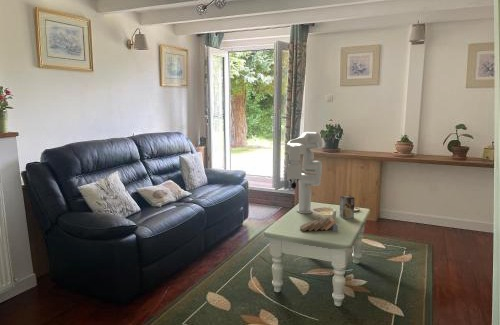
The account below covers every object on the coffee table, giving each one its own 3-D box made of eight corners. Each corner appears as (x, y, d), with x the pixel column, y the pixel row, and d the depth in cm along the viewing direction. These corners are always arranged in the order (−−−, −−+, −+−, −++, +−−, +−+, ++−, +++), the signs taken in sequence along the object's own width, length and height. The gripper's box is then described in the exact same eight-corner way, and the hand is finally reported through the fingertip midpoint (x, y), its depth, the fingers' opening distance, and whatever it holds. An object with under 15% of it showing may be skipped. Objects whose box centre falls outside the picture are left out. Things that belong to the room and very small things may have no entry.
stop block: (329, 227, 253) (329, 221, 252) (333, 226, 254) (333, 221, 253) (333, 231, 245) (333, 225, 245) (337, 230, 246) (337, 225, 245)
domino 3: (311, 226, 250) (321, 218, 250) (312, 228, 250) (323, 221, 250) (313, 229, 244) (324, 221, 245) (315, 231, 245) (326, 223, 245)
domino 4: (317, 226, 250) (327, 217, 250) (319, 228, 251) (328, 219, 251) (320, 228, 245) (330, 220, 245) (322, 230, 245) (331, 222, 246)
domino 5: (321, 225, 251) (331, 217, 251) (323, 227, 251) (333, 219, 251) (324, 228, 246) (334, 219, 246) (326, 230, 246) (336, 221, 246)
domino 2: (305, 226, 249) (316, 219, 249) (307, 228, 250) (317, 221, 250) (308, 229, 244) (319, 222, 244) (309, 231, 244) (320, 224, 244)
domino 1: (299, 226, 248) (310, 220, 249) (300, 229, 249) (311, 222, 249) (301, 229, 243) (313, 222, 244) (303, 231, 244) (314, 225, 244)
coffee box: (350, 215, 280) (351, 195, 277) (353, 218, 274) (355, 197, 271) (339, 216, 278) (340, 196, 275) (342, 218, 272) (343, 198, 269)
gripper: (285, 163, 245) (284, 189, 248) (306, 163, 247) (305, 189, 250) (282, 161, 252) (282, 187, 255) (303, 161, 255) (302, 186, 258)
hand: (293, 188), depth 253 cm, fingers closed
